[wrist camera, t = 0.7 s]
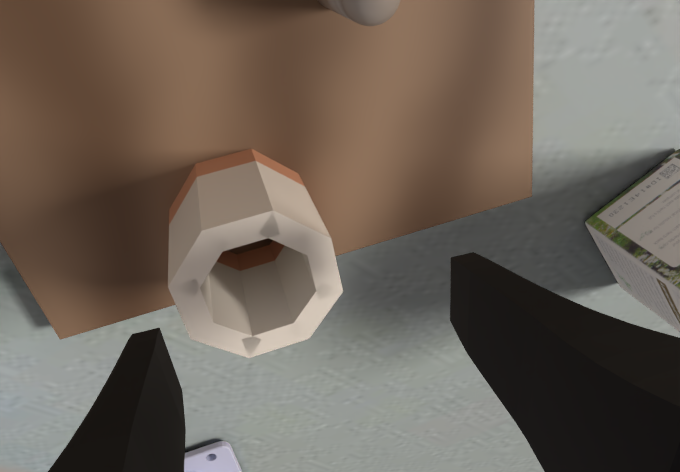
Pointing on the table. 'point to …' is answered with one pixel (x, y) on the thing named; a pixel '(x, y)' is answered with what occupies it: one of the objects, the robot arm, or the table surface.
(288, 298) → the sleeve
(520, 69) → the pin board
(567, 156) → the table surface
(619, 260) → the syrup box
